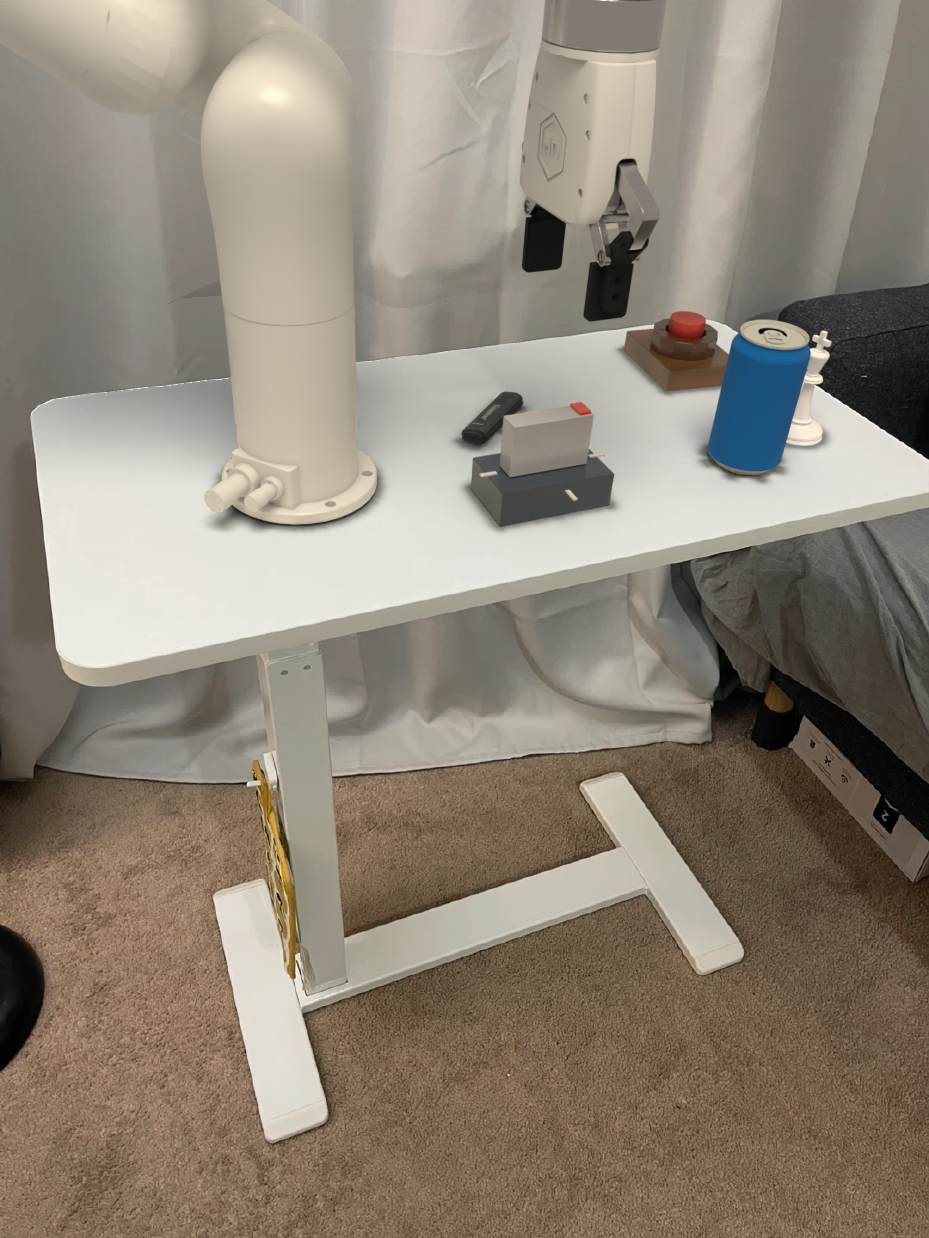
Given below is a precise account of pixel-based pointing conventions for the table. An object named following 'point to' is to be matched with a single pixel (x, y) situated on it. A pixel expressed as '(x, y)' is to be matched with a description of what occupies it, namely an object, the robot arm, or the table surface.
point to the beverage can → (759, 396)
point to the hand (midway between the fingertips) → (571, 293)
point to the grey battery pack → (545, 439)
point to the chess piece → (809, 397)
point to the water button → (686, 325)
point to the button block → (678, 357)
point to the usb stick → (492, 418)
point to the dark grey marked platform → (540, 489)
